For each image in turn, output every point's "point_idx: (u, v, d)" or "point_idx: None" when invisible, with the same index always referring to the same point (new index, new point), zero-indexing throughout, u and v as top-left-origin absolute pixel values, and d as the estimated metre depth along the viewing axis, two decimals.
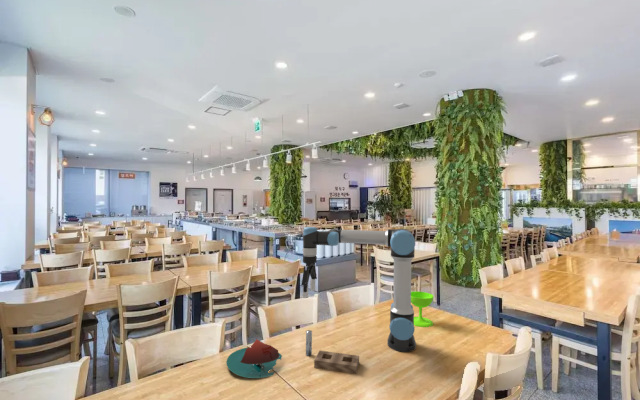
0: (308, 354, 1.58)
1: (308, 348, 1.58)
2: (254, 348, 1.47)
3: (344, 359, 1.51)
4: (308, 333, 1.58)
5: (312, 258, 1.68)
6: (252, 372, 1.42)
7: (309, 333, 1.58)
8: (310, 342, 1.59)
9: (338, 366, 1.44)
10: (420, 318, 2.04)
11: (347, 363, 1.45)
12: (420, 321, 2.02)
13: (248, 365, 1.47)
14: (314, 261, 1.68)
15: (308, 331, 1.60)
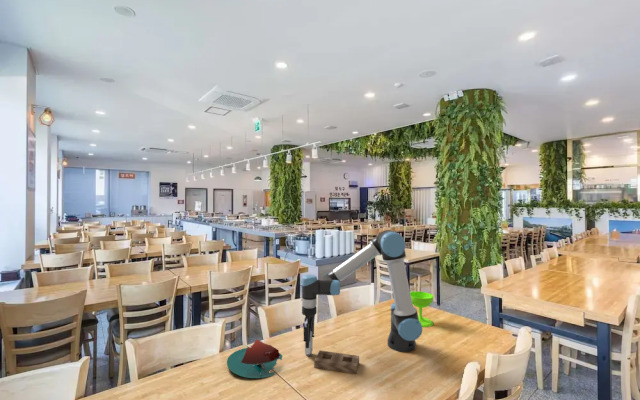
0: (308, 354, 1.58)
1: None
2: (255, 348, 1.47)
3: (344, 359, 1.51)
4: None
5: (312, 310, 1.56)
6: (253, 372, 1.42)
7: None
8: None
9: (338, 366, 1.44)
10: (420, 318, 2.04)
11: (347, 363, 1.45)
12: (420, 321, 2.02)
13: (249, 365, 1.47)
14: (314, 313, 1.57)
15: None
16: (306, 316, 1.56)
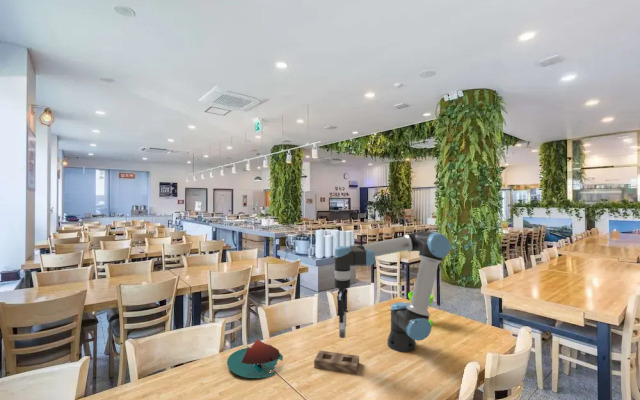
0: (342, 336, 1.49)
1: (342, 329, 1.49)
2: (255, 348, 1.47)
3: (344, 359, 1.51)
4: None
5: (346, 282, 1.47)
6: (253, 372, 1.42)
7: None
8: None
9: (338, 366, 1.44)
10: None
11: (347, 363, 1.45)
12: None
13: (249, 365, 1.47)
14: (348, 286, 1.48)
15: None
16: (340, 289, 1.47)
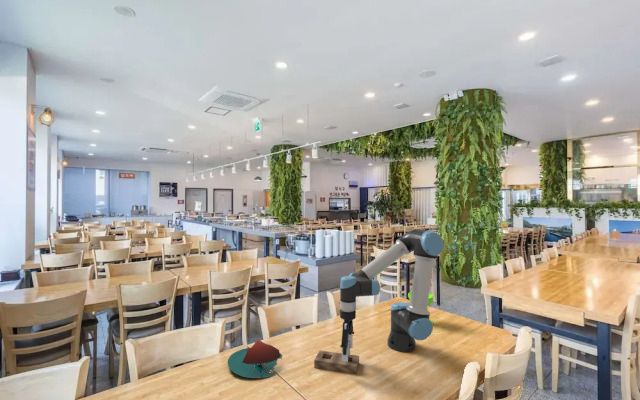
0: None
1: None
2: (256, 348, 1.47)
3: None
4: None
5: (351, 314, 1.45)
6: (254, 372, 1.42)
7: None
8: (348, 353, 1.47)
9: (338, 366, 1.44)
10: None
11: (347, 363, 1.45)
12: None
13: (249, 365, 1.46)
14: (353, 317, 1.46)
15: None
16: (345, 320, 1.45)
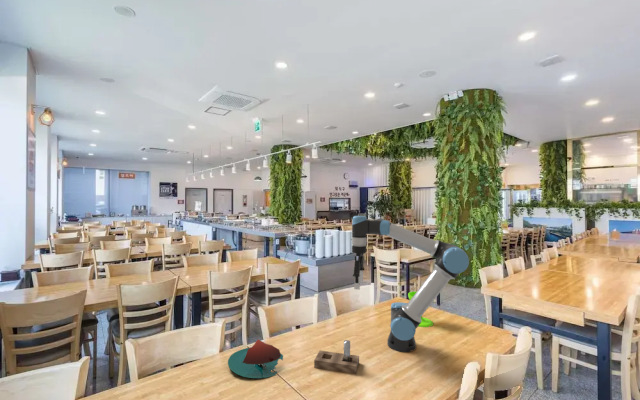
0: None
1: (346, 360, 1.47)
2: (256, 348, 1.47)
3: None
4: (346, 343, 1.47)
5: (363, 248, 1.60)
6: (255, 372, 1.42)
7: (347, 343, 1.47)
8: (348, 353, 1.47)
9: (338, 366, 1.44)
10: None
11: (347, 363, 1.45)
12: None
13: (250, 365, 1.46)
14: (364, 251, 1.61)
15: (346, 341, 1.48)
16: (357, 254, 1.60)
